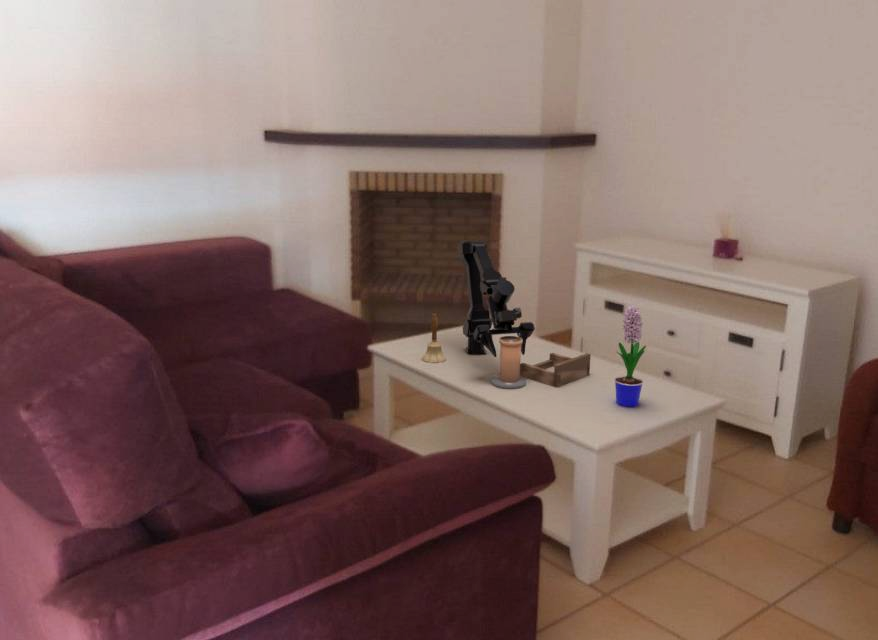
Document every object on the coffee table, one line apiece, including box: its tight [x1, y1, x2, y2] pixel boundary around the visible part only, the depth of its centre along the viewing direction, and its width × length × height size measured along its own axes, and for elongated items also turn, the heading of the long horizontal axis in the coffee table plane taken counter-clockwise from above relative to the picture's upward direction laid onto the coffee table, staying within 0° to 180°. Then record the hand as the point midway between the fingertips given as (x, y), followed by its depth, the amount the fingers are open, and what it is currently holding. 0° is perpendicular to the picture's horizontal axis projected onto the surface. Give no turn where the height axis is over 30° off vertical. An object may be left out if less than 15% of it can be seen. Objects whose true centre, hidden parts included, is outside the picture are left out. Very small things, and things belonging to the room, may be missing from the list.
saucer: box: [490, 374, 527, 390], centre depth 266 cm, size 11×11×1 cm
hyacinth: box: [614, 305, 647, 408], centre depth 247 cm, size 9×10×30 cm
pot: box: [498, 335, 523, 383], centre depth 264 cm, size 7×7×13 cm
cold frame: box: [520, 352, 591, 388], centre depth 273 cm, size 15×17×7 cm
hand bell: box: [421, 313, 447, 364], centre depth 286 cm, size 8×8×16 cm
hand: (509, 355), depth 264 cm, fingers open, 9 cm apart
